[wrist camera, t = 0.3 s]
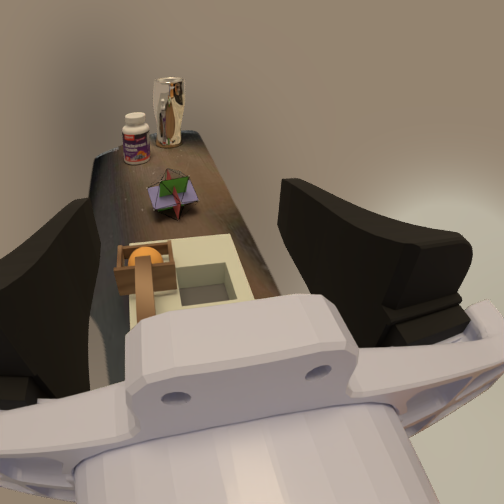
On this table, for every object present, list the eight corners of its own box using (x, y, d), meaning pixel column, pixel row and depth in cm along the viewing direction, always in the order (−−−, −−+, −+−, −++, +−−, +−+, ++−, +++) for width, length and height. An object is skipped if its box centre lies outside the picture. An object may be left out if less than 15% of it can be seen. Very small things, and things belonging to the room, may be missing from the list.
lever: (212, 459, 19) (211, 429, 14) (132, 468, 17) (103, 441, 13) (171, 253, 35) (168, 198, 30) (121, 258, 33) (111, 204, 29)
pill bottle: (123, 166, 59) (119, 120, 52) (125, 156, 63) (122, 112, 56) (150, 164, 60) (148, 117, 54) (150, 153, 64) (149, 110, 58)
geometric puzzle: (208, 214, 44) (196, 158, 44) (160, 224, 42) (148, 166, 41) (193, 218, 51) (183, 169, 50) (151, 228, 48) (141, 177, 47)
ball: (166, 288, 31) (163, 261, 29) (131, 292, 30) (125, 265, 28) (163, 264, 34) (161, 237, 32) (131, 267, 33) (126, 241, 31)
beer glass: (148, 142, 69) (147, 80, 59) (173, 136, 73) (174, 76, 63) (164, 151, 65) (163, 83, 56) (190, 144, 69) (192, 79, 60)
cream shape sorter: (293, 438, 24) (316, 407, 19) (151, 465, 21) (131, 441, 16) (228, 255, 41) (231, 207, 37) (133, 266, 38) (125, 217, 34)
